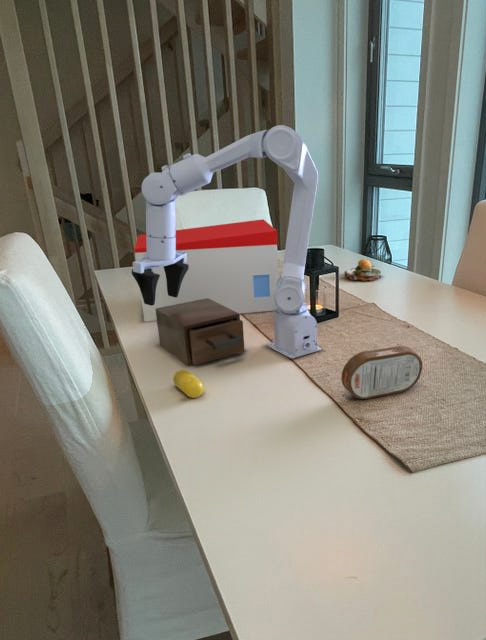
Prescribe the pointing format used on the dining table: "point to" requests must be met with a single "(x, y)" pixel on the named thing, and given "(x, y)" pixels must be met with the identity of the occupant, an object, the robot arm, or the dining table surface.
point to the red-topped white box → (222, 267)
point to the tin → (381, 372)
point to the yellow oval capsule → (188, 383)
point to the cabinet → (188, 324)
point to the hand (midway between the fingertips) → (161, 300)
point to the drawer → (216, 340)
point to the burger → (363, 271)
